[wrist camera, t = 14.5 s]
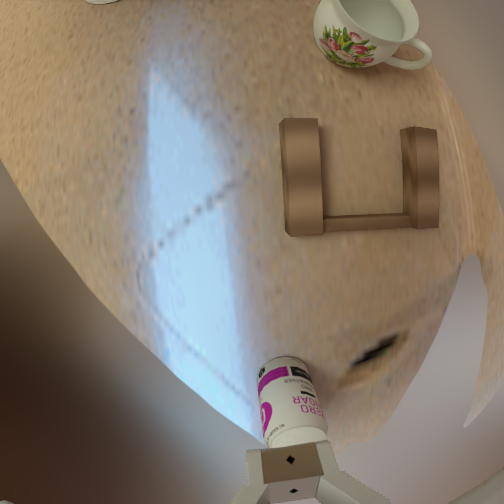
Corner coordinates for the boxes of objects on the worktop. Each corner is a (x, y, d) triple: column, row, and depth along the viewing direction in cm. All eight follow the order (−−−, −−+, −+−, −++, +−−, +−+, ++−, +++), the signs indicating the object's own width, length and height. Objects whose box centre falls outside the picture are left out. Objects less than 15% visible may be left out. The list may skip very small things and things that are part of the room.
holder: (279, 124, 35) (284, 118, 31) (421, 132, 36) (436, 129, 32) (285, 230, 39) (290, 236, 35) (423, 223, 39) (438, 227, 36)
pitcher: (389, 106, 35) (447, 85, 22) (275, 49, 32) (293, -4, 19) (406, 54, 33) (457, 24, 19) (301, -1, 30) (325, -55, 17)
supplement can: (254, 393, 45) (262, 463, 31) (258, 354, 43) (269, 424, 29) (302, 392, 46) (322, 458, 31) (310, 353, 44) (337, 420, 29)
